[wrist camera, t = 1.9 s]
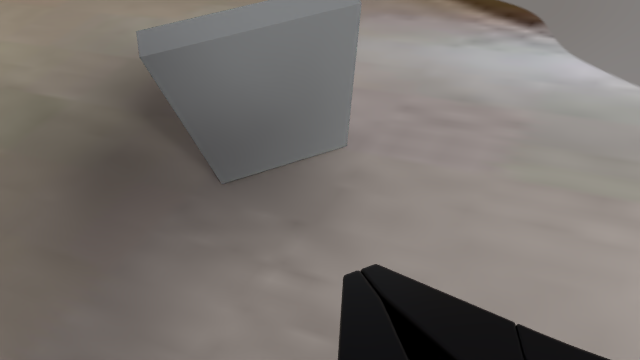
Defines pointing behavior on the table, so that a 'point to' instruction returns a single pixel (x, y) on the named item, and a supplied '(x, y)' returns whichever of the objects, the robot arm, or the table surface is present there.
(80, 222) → the table surface
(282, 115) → the grey tile
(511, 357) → the robot arm
